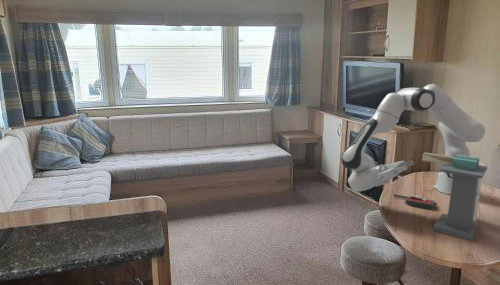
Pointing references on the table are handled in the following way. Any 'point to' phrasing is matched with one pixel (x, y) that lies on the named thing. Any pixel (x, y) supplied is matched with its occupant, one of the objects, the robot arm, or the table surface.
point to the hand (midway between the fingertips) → (409, 164)
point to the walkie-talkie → (418, 201)
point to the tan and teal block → (453, 160)
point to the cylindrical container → (477, 196)
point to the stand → (461, 203)
